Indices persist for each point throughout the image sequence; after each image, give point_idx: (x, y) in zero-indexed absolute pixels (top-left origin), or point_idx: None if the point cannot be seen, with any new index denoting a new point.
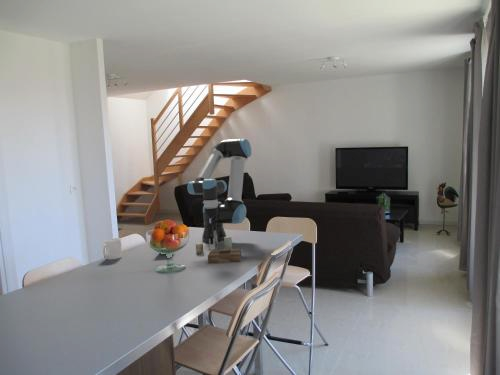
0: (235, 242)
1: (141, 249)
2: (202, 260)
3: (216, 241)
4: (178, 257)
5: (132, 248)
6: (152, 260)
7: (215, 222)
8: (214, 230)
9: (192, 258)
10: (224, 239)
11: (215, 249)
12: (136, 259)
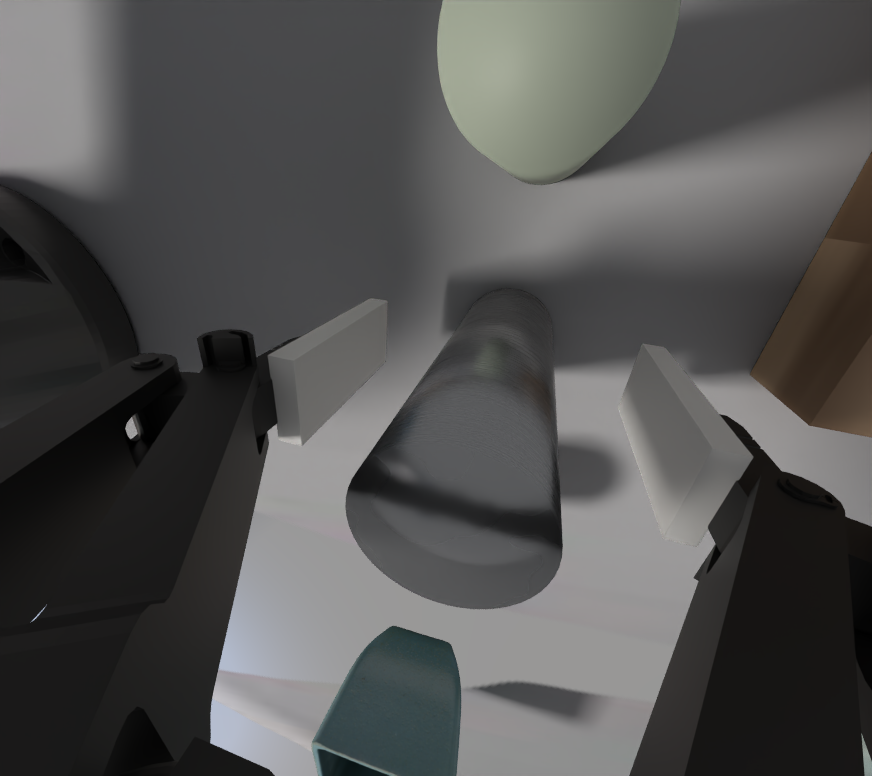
0: (81, 34)
1: (308, 699)
2: (845, 479)
3: (528, 344)
4: (572, 616)
5: (286, 715)
6: (576, 726)
7: (84, 753)
8: (417, 490)
9: (674, 545)
10: (577, 162)
11: (548, 329)
12: (511, 759)
